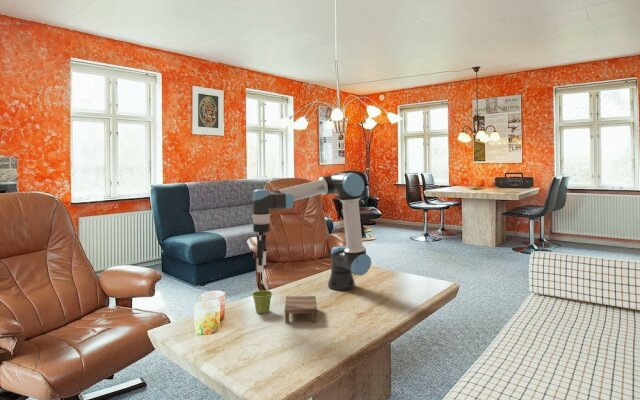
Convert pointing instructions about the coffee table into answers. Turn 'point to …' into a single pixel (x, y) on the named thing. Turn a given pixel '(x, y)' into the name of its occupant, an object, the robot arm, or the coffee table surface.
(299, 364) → the coffee table surface
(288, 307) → the walnut plant stand
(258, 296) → the plant pot
